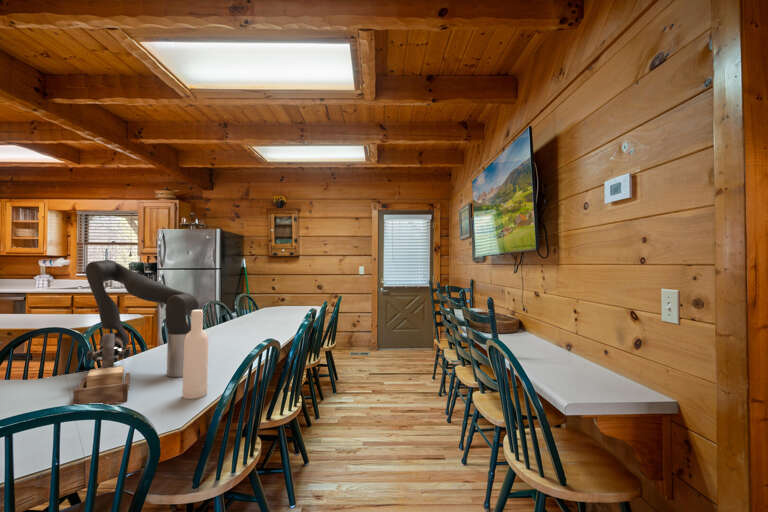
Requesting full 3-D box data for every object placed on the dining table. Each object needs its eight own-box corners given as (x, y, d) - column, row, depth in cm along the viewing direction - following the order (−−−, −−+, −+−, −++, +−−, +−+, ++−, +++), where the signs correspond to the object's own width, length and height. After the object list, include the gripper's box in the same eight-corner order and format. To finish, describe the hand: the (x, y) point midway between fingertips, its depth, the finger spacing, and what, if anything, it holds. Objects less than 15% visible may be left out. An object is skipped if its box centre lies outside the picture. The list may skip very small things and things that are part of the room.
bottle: (194, 400, 128) (196, 312, 128) (176, 397, 131) (179, 310, 131) (212, 393, 135) (214, 309, 136) (195, 390, 138) (197, 308, 139)
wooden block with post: (124, 379, 145) (125, 332, 146) (122, 389, 134) (123, 338, 135) (90, 383, 140) (92, 334, 140) (86, 393, 129) (87, 341, 129)
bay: (129, 384, 143) (130, 368, 143) (127, 401, 126) (127, 383, 126) (82, 390, 135) (83, 373, 135) (73, 409, 118) (73, 390, 119)
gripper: (89, 340, 150) (83, 349, 136) (132, 337, 157) (131, 345, 143) (88, 359, 149) (82, 370, 135) (132, 355, 157) (130, 365, 143)
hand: (107, 357), depth 139 cm, fingers open, 7 cm apart
